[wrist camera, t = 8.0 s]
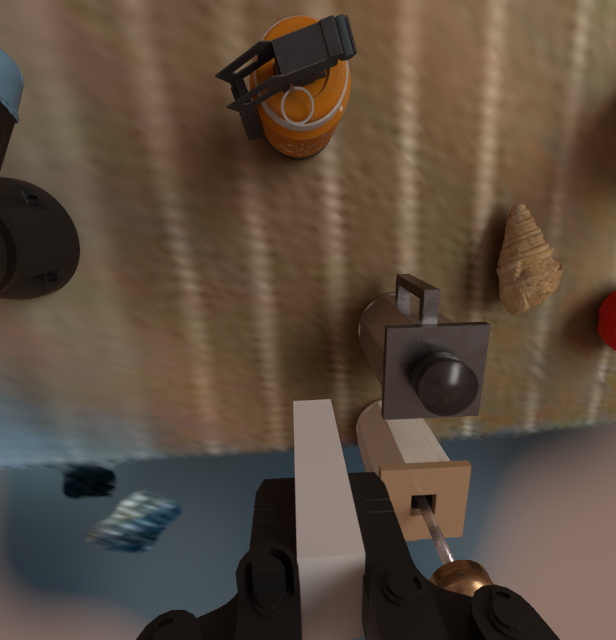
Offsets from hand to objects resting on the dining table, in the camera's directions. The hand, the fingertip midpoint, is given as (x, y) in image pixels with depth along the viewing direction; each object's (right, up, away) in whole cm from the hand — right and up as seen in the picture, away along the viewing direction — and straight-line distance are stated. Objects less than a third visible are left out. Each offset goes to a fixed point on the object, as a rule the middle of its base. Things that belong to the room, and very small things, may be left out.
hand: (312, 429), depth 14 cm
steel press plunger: (+12, +2, +34) cm, 36 cm away
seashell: (+28, +14, +35) cm, 47 cm away
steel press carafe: (+12, +5, +37) cm, 39 cm away
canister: (-2, +29, +29) cm, 41 cm away
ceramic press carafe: (+13, -14, +43) cm, 47 cm away
